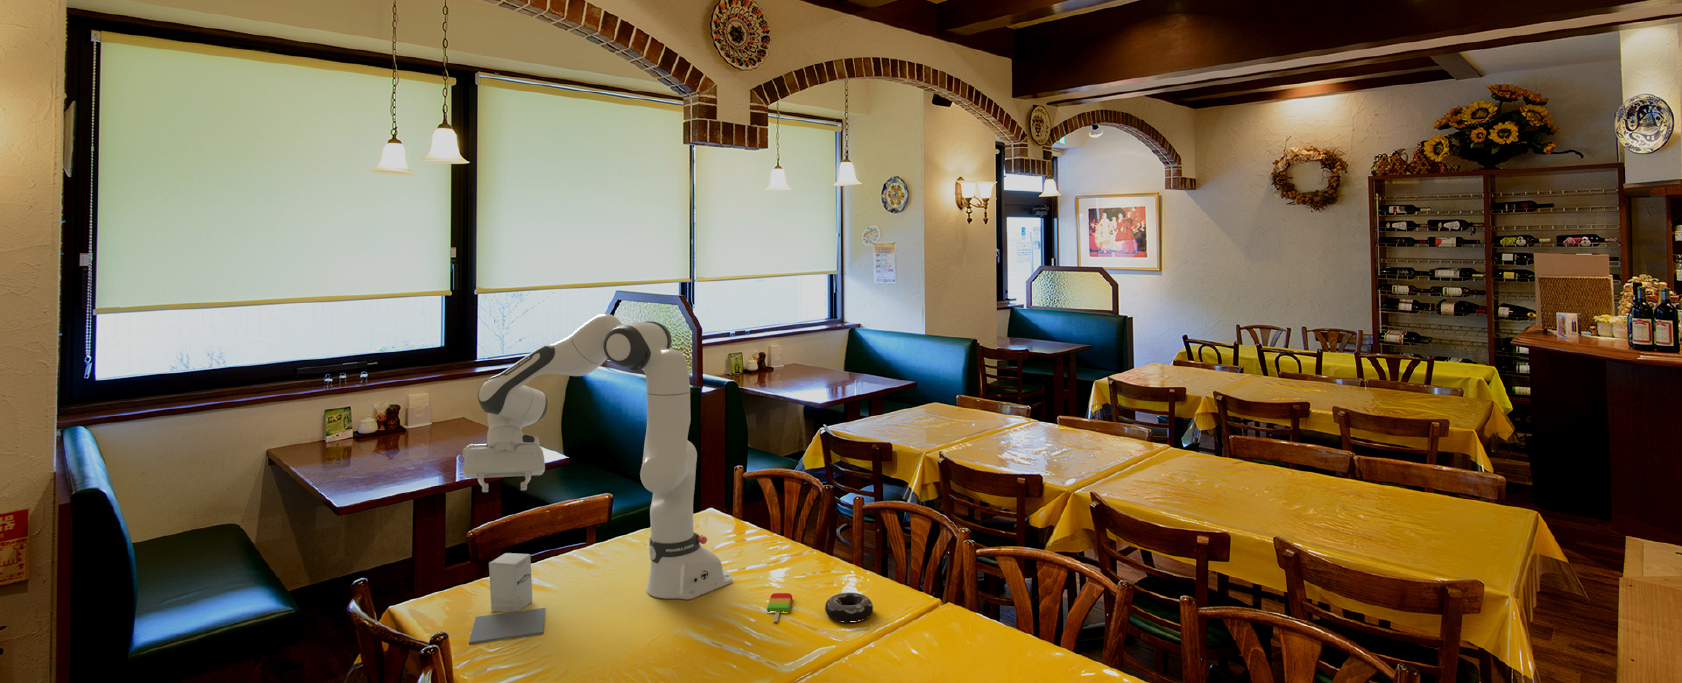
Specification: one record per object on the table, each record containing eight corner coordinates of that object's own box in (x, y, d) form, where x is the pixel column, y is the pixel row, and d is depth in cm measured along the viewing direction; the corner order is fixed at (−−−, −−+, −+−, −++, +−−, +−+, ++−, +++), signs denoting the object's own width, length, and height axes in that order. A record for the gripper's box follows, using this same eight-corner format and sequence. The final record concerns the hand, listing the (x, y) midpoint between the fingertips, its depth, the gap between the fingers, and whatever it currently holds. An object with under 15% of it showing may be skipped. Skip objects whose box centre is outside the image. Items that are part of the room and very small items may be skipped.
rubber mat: (475, 618, 202) (475, 616, 202) (545, 609, 207) (545, 607, 207) (468, 644, 189) (468, 641, 189) (543, 633, 194) (543, 631, 194)
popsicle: (792, 599, 212) (792, 592, 212) (786, 625, 197) (786, 617, 197) (771, 599, 212) (771, 592, 212) (763, 625, 198) (763, 617, 197)
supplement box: (517, 613, 205) (514, 564, 203) (490, 611, 206) (487, 562, 205) (533, 601, 212) (531, 553, 211) (507, 599, 213) (505, 551, 212)
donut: (864, 602, 209) (864, 587, 209) (879, 622, 198) (879, 606, 197) (819, 608, 206) (819, 593, 205) (832, 628, 195) (832, 612, 194)
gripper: (462, 439, 218) (461, 487, 211) (544, 437, 226) (546, 482, 219) (462, 450, 223) (461, 497, 216) (543, 447, 231) (544, 493, 224)
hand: (504, 490), depth 218 cm, fingers open, 8 cm apart
